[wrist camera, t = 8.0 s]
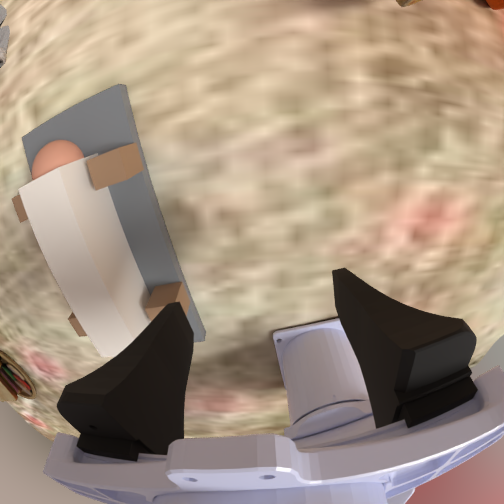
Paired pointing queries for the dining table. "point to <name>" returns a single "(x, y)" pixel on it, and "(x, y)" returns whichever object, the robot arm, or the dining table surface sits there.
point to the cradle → (121, 192)
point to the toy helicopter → (494, 1)
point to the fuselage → (86, 247)
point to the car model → (3, 36)
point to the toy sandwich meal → (14, 380)
